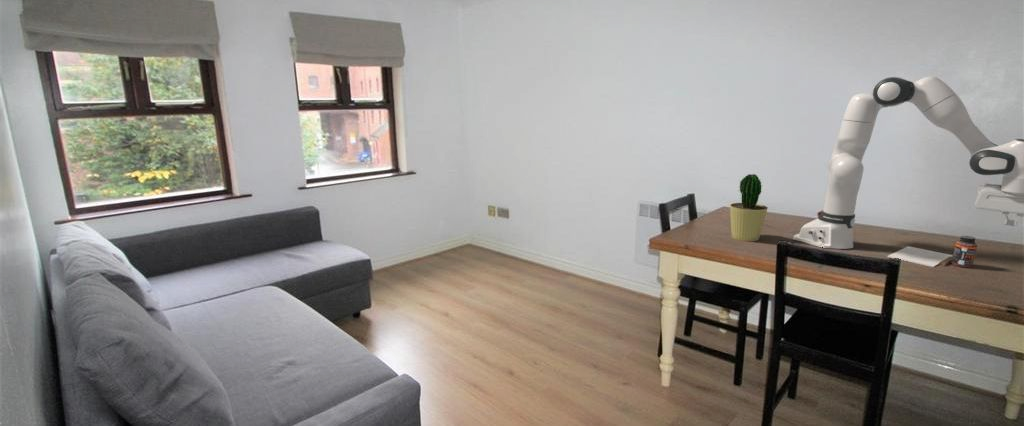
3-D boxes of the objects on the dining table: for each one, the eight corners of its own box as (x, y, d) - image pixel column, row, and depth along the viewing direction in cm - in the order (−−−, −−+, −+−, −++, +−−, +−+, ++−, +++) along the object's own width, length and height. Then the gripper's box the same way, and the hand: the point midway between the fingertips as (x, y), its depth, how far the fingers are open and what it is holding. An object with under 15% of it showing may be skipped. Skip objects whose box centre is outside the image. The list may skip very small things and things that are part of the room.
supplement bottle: (964, 268, 179) (971, 239, 176) (947, 263, 185) (953, 235, 182) (976, 267, 181) (983, 238, 178) (958, 262, 186) (964, 234, 183)
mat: (887, 257, 193) (887, 256, 193) (908, 247, 205) (908, 246, 205) (933, 267, 181) (933, 266, 181) (952, 256, 193) (952, 255, 193)
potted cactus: (756, 233, 227) (763, 170, 220) (769, 242, 212) (777, 175, 205) (722, 232, 229) (728, 170, 222) (733, 242, 214) (740, 175, 207)
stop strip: (939, 264, 183) (939, 262, 183) (949, 258, 190) (950, 256, 190) (944, 266, 182) (944, 263, 182) (954, 259, 189) (955, 257, 188)
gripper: (976, 183, 174) (968, 221, 177) (1060, 191, 157) (1050, 232, 160) (981, 181, 177) (973, 218, 180) (1064, 189, 161) (1054, 229, 164)
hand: (1010, 225), depth 170 cm, fingers closed
